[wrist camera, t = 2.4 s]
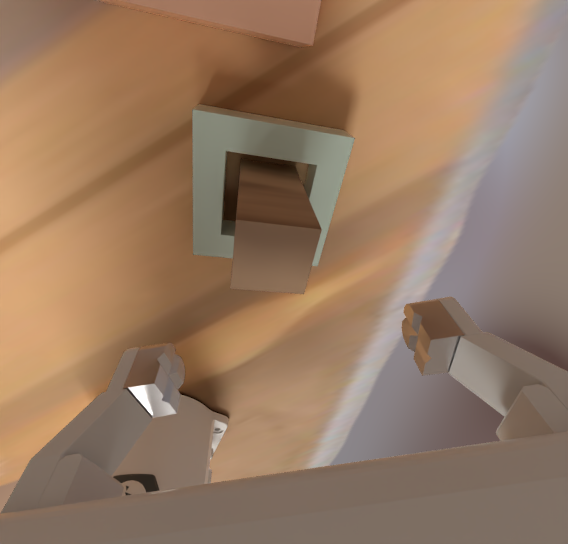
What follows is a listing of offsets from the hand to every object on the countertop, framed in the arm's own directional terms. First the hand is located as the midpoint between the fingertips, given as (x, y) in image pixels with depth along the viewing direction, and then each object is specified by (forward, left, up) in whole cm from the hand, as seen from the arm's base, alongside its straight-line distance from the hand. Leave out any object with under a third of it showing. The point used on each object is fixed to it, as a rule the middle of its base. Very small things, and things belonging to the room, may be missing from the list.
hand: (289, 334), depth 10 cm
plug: (0, 0, -15) cm, 15 cm away
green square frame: (0, 0, -15) cm, 15 cm away
